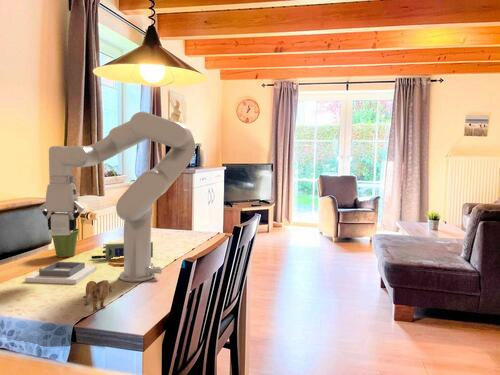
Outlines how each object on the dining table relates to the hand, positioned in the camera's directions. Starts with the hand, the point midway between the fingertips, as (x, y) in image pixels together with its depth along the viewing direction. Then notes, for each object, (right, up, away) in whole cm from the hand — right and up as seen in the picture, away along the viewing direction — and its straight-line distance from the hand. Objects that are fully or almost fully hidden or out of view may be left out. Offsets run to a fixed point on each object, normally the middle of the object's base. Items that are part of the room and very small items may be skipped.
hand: (62, 229), depth 139 cm
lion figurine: (+23, -20, -25) cm, 39 cm away
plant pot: (-12, -15, +28) cm, 34 cm away
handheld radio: (+13, -16, +27) cm, 34 cm away
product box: (0, -2, 0) cm, 2 cm away
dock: (0, -17, +2) cm, 17 cm away
